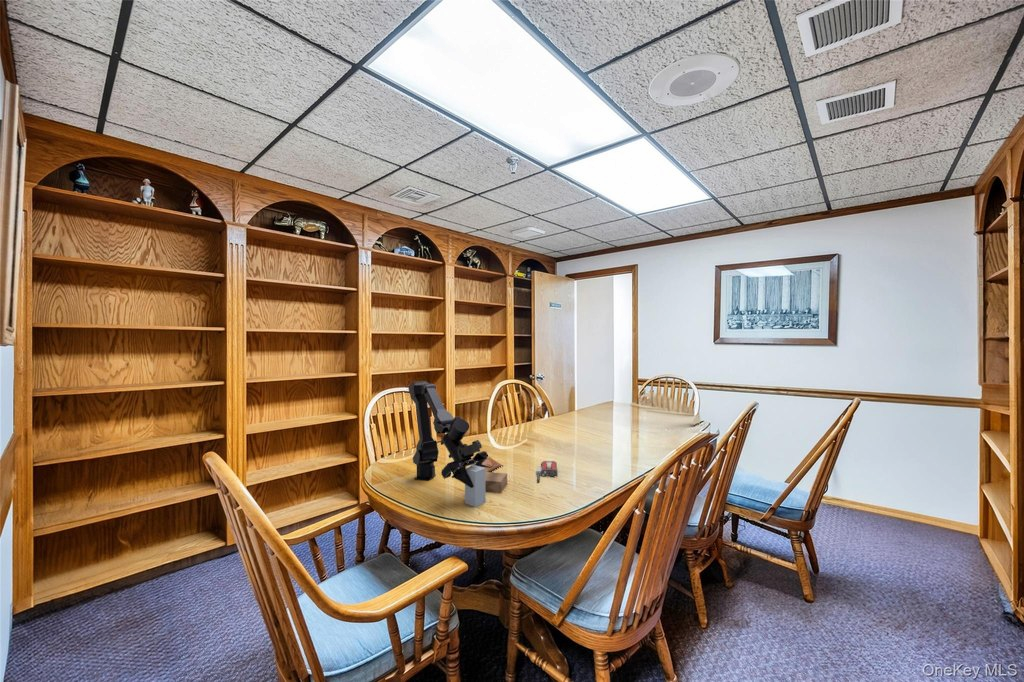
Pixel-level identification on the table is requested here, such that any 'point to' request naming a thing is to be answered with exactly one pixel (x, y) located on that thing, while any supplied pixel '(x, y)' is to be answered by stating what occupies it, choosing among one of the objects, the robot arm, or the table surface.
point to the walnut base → (495, 481)
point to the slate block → (475, 486)
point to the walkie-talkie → (547, 469)
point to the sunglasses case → (490, 465)
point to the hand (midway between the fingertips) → (478, 484)
